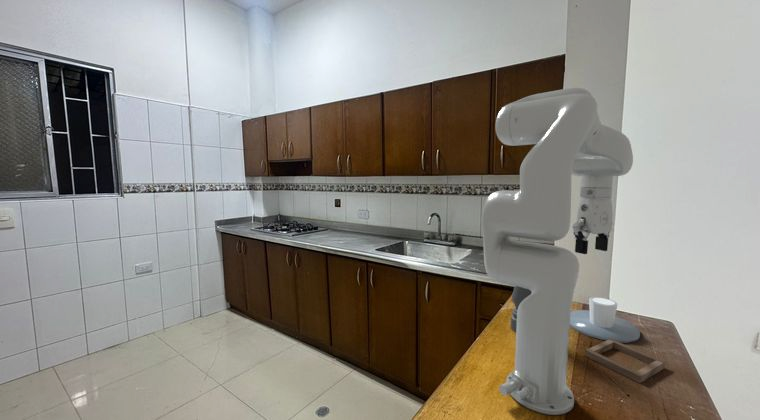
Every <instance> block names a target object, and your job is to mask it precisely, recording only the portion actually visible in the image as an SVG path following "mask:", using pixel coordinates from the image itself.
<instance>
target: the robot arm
mask: <svg viewBox="0 0 760 420" xmlns="http://www.w3.org/2000/svg"><path fill="white" fill-rule="evenodd" d="M495 134H496V136H497V138H498V140H499V141H500V142H501V143H502V144H503V145H506V146H510V147H511V146H515V147H516V146H528V145H529V146H530V145H534V146H532V147H531V149H530V150H529V152H528V153H527V154H526V156H525V157H524V158H523V160H522V162H521V164H520V167H519V190H503V189H502V190H497V191H495V192H494V191H493V192H492V193H491V194H489V195H488V197H487V198H486V199H485V202H484V203H483V205H484V206H483V208H482V213H481V214H482V215H481V229H482V244H483V245H482V246H483V247H482V248H483V260H484V261H483V262H484V269H485V271H486V272H485V273H486V274H487V276H488V277H489V278H490V279H492V280H494V281H496V282H499V283H502V284H507V285H510V286H514V287H515V286H518V287H522V288H525V289H528V290H530V291H531V292H532V293H531V294H530V295H529V296H528V297H526V298H525V299H524V300H523V301H522V302H521V303H520V304H519V307H518V310H517V327H516V332H515V348H514V349H515V353H514V354H515V356H514V370H513V371H511V372H510V373H508V375H507V376H506V381H505V383H502V384H499V387H498V390H499V393H501V395H502V396H505V397H506V396H508V395H510V396H511V397H512V398H513V399H514V400H515V401H516V402H518V403H519V404H520V405H522V406H524V407H525V408H527V409H529V410H531V411H535V412H537V413H541V414H544V415H550V416H551V415H553V416H555V415H556V416H558V415H564V414H567V413H568V412H570V411H571V410H572V409H573V408H574V404H575V397H574V393H573V392H572V390H571V389H570V388H569V386H568V385H567V371H568V358H569V357H568V356H569V343H570V342H569V341H570V328H571V327H570V315H571V311H572V305H573V299H574V293H575V289H576V286H577V283H578V278H579V272H580V263H579V259H578V258H577V256H576V255H575V254H582V255H587V254H588V250H589V249H588V248H589V240H588V238H589V236H590V234H592V235H597V236H595V243H594V244H595V245H594V247H595V248H594V249H595V250H597V251H603V252H608V245H609V238H610V236H611V235H610V233H611V231H612V230H613V203H612V194H613V182H614V177H621V176H625V175H627V174H628V173H629V172H630V171H631V169H632V166H633V165H634V164H633V163H634V155H633V149H632V144H631V141H630V139H629V138H628V136H627V135H626V134H624V133H623V132H621V131H619V130H617V129H614V128H613V127H609V126H607V125H604V124H602V123H601V119H600V116H599V114H598V104H597V100H596V98H595V97H593V95H592V94H591V92H590V91H589V90H587V89H585V88H582V87H568V88H562V89H558V90H557V89H556V90H553V91H547V92H542V93H541V92H540V93H536V94H535V93H534V94H531V95H528V96H525V97H522V98H520V99H517V100H516V101H513V102H510V103H507V104H505V105H504V106H503V107H501V109H500V111H499V112H498V114H497V116H496V120H495ZM572 176H576V177H581V178H580V192H579V193H580V194H579V203H578V207H577V208H578V209H577V215H576V222H575V223H574V224H573V225H572V229H573V235H574V239H575V244H574V247H575V248H574V252H575V254H574V252H572V251H570V250H569V249H566V248H564V247H561V246H557V245H554V244H553V245H552V244H546V243H539V242H538V243H537V242H532V241H524V240H518V239H516V240H515V239H512V237H513V238H521V239H526V240H527V239H528V240H534V241H544V242H556V241H560V240H562V239H564V238H565V237H566V236H567V235H568V233H569V230H570V227H571V220H572V219H571V214H572Z"/></svg>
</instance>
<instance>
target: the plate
mask: <svg viewBox="0 0 760 420" xmlns="http://www.w3.org/2000/svg"><path fill="white" fill-rule="evenodd" d="M570 328H571V329H573V330H574V331H577V332H579V333H580V334H583V335H585V336H588V337H591V338H594V339H597V340H602V341H604V342H605V341H607V340H609V339H613V340H615V341H618V342H620V343H622V344H624V343H626V344H627V343H633V342H637V341H638V340H639V339H640V336H641V332H640V329H639V328H638V327H637V326H636V325H634V324H633V323H631V322H630V321H628V320H627V319H623V318H622V317H618V316H616V315H615V319H614V324H613V327H611V328H603V327H599V326H596V325H594V324H592V323H591V322H590V309H589V310H588V309H578V310H571V315H570Z"/></svg>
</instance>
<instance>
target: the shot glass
mask: <svg viewBox="0 0 760 420" xmlns="http://www.w3.org/2000/svg"><path fill="white" fill-rule="evenodd" d="M588 300H589V301H588V302H589V306H588V307H589V311H590V322H591V323H592V324H594V325H596V326H599V327H603V328H611V327H613V324H614V319H615V316H616V315H617V308H618V303H617V302H616V301H615V300H613V299H609V298H608V297H607V298H606V297H601V296H591V297H589V298H588Z"/></svg>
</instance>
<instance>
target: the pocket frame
mask: <svg viewBox="0 0 760 420" xmlns="http://www.w3.org/2000/svg"><path fill="white" fill-rule="evenodd" d="M612 349H615V350H617V351H619V352H622V353H624V354H626V355H628V356H630V357H633V358H635V359H638V360H639V361H642V362H644V363H647V365H645V366H644V367H642V368H640V369H638V370H634V369H632V368H630V367H628V366H625V365H624V364H622V363H619V362H617V361H615V360H614V359H611V358H609V357H607V356H605V355H603V353H605V352H607V351H610V350H612ZM584 352H585V353H584V355H585V356H584V357H586V358H588V359H590V360H591V361H592V360H593V361H595V362H596V363H599V364H600V365H603V366H604V367H606V368H608V369H611V370H612V371H615V372H616V373H618V374H621V375H622V376H624V377H626V378H629V379H630V380H633V381H634V382H637V383H638V384H642V383H643V382H644V381H646V380H648V379H650V378H651V377H652V376H654V375H656V374H658V373H659V372H661V371H662V370H664V369H666V361H664V360H662V359H660V358H658V357H655V356H653V355H650V354H649V353H646V352H643V351H641V350H638V349H636V348H634V347H631V346H629V345H627V344H624V343H620V342H618V341H615V340H613V339H609V340H607V341H605V340H604V341H602V342H600V343H598V344H596V345H594V346H592V347H589V348H587V349H585V351H584Z"/></svg>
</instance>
